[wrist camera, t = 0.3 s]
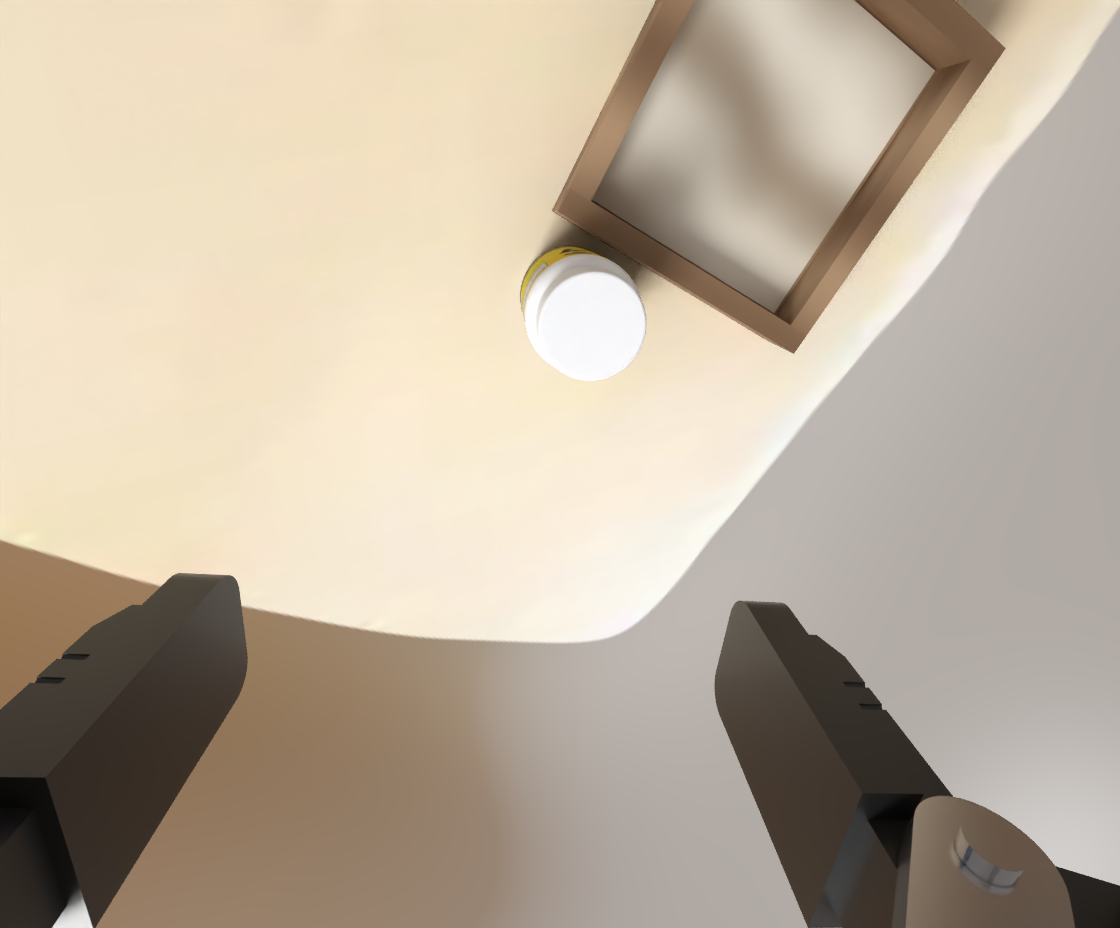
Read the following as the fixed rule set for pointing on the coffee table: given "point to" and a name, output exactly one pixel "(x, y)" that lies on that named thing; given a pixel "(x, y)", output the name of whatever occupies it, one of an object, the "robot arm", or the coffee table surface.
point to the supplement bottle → (582, 313)
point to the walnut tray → (771, 144)
